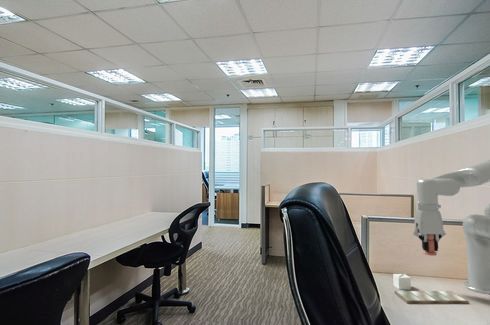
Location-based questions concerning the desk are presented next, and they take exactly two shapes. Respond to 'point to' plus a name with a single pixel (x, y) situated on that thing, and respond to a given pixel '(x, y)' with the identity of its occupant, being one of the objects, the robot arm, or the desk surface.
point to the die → (402, 281)
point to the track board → (431, 297)
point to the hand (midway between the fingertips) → (430, 250)
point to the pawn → (430, 246)
